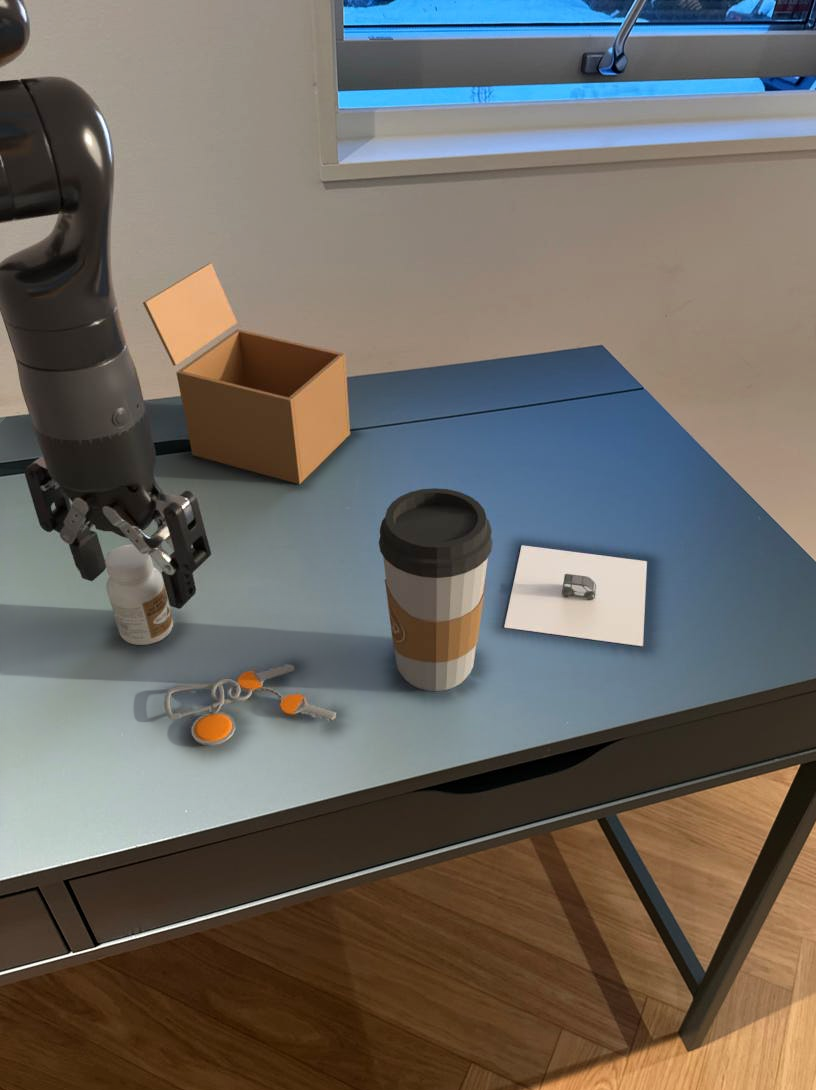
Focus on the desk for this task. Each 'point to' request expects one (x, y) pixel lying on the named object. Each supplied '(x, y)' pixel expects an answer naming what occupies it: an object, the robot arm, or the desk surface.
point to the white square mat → (578, 595)
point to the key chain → (222, 725)
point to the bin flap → (190, 313)
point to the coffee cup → (435, 583)
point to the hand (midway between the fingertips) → (137, 588)
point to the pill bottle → (137, 596)
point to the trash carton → (266, 404)
